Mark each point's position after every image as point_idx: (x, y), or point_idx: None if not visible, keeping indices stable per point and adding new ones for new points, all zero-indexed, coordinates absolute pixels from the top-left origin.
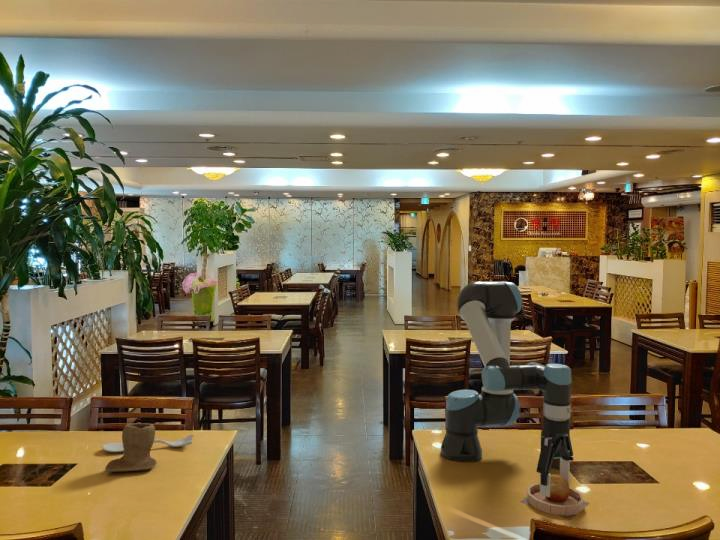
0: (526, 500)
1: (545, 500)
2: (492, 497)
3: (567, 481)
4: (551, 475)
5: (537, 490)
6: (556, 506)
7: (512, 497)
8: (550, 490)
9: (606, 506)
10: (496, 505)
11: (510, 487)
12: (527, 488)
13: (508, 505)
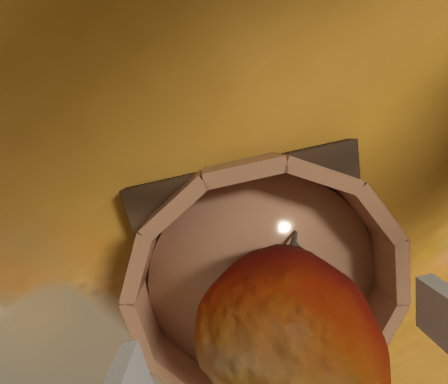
0: (159, 199)
1: (218, 269)
2: (49, 43)
3: (422, 326)
4: (322, 377)
5: (282, 177)
6: (163, 378)
7: (154, 110)
8: (200, 368)
9: (409, 358)
10: (7, 125)
11: (243, 12)
12: (194, 182)
13: (68, 159)
